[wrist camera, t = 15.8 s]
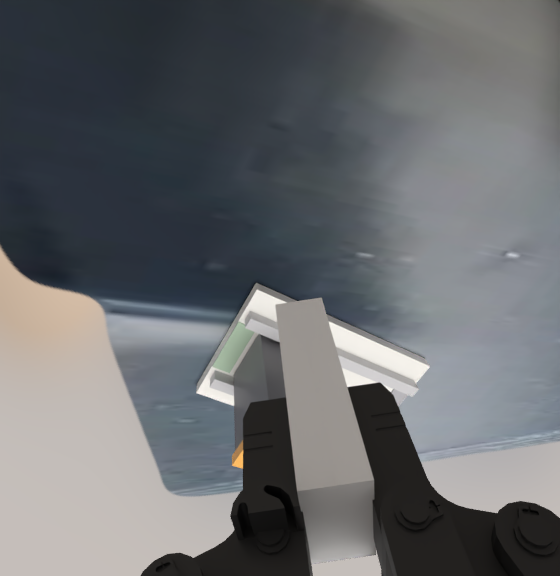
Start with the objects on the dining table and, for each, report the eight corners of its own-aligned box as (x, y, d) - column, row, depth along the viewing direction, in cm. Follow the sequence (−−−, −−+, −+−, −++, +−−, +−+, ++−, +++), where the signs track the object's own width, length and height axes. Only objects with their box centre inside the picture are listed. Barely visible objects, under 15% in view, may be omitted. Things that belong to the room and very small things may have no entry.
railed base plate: (424, 358, 51) (435, 374, 48) (357, 440, 56) (364, 459, 53) (256, 282, 44) (258, 296, 41) (197, 384, 49) (195, 402, 46)
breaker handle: (304, 347, 46) (327, 431, 36) (275, 391, 48) (288, 482, 38) (259, 329, 44) (269, 410, 34) (230, 375, 47) (232, 465, 36)
